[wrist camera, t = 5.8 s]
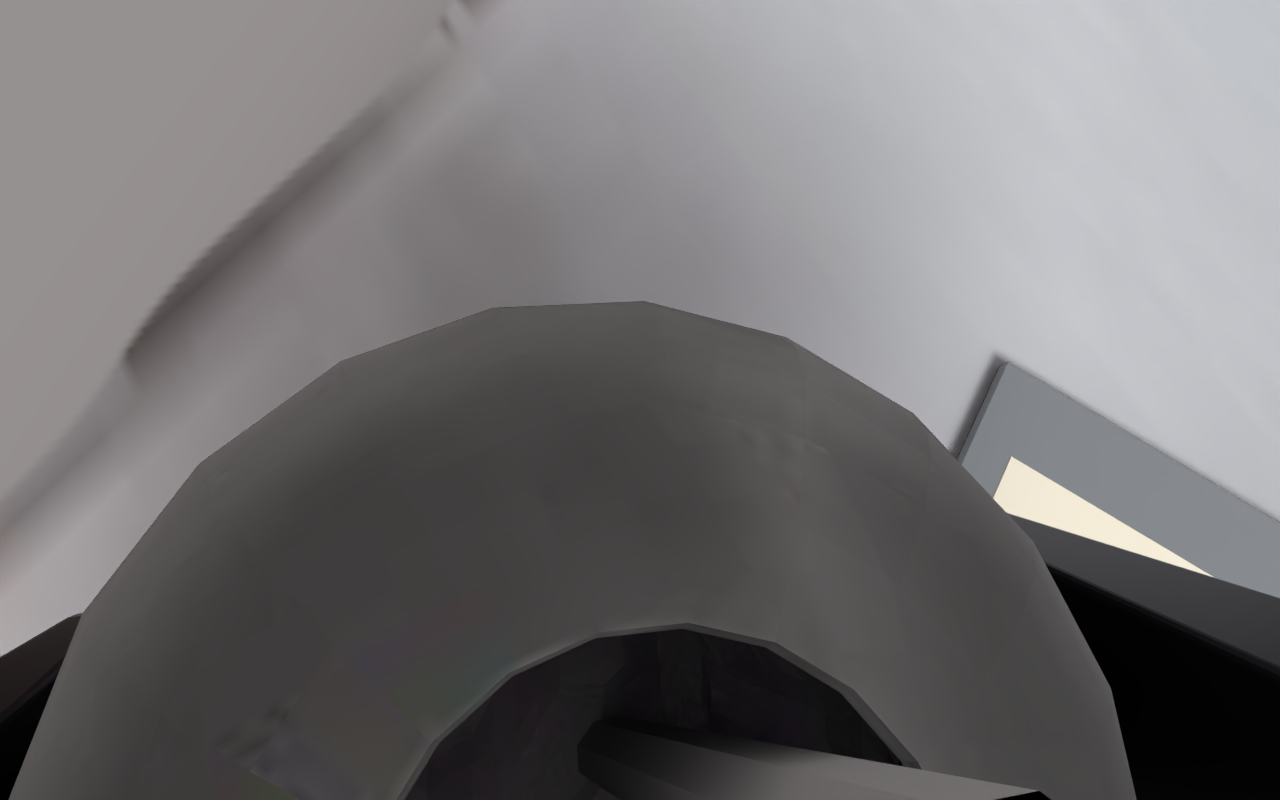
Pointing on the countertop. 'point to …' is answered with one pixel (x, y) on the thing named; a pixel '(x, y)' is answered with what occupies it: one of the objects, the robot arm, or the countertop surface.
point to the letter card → (1112, 485)
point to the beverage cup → (581, 592)
